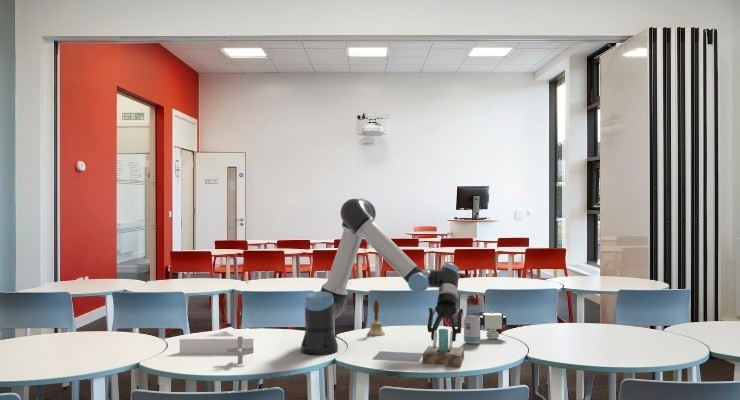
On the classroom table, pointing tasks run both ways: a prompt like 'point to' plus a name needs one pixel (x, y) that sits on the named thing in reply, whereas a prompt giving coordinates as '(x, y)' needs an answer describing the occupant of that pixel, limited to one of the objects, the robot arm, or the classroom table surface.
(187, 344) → the triangle block
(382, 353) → the mat
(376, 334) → the hand bell
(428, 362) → the hole block
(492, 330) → the pneumatic valve
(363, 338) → the classroom table surface
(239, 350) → the pipe connector
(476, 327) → the beverage can
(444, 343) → the peg
